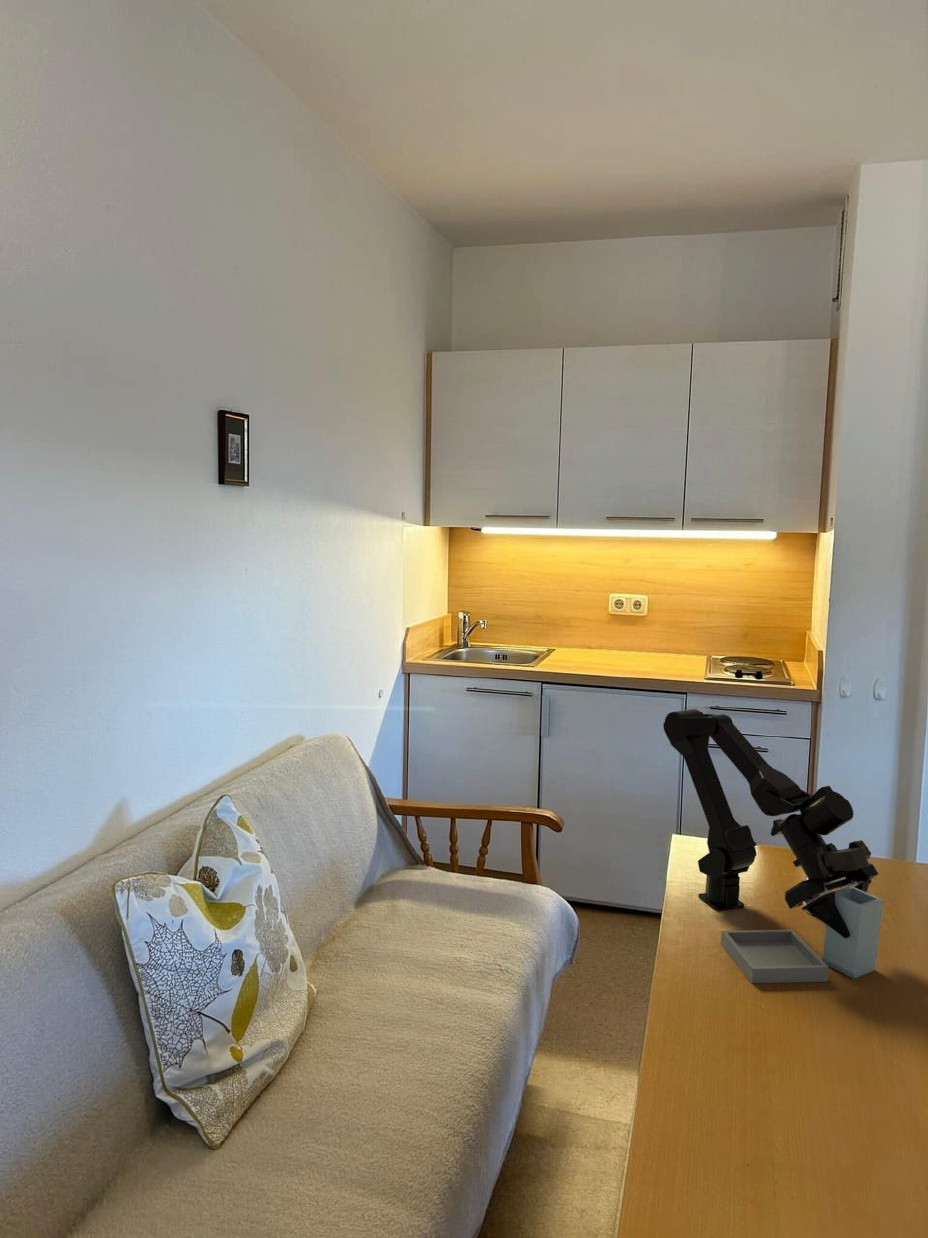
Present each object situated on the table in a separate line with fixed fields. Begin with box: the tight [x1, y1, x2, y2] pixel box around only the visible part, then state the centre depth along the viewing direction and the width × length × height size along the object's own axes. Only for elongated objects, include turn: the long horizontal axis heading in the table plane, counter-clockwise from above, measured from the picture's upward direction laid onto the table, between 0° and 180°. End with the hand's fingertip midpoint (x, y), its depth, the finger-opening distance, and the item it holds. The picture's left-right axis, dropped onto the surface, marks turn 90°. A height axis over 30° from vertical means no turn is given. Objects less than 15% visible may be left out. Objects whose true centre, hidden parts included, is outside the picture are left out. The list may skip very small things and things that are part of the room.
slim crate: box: [822, 886, 884, 979], centre depth 152 cm, size 6×6×12 cm
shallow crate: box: [720, 929, 830, 984], centre depth 153 cm, size 13×13×2 cm
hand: (859, 933), depth 151 cm, fingers closed on slim crate, 6 cm apart
